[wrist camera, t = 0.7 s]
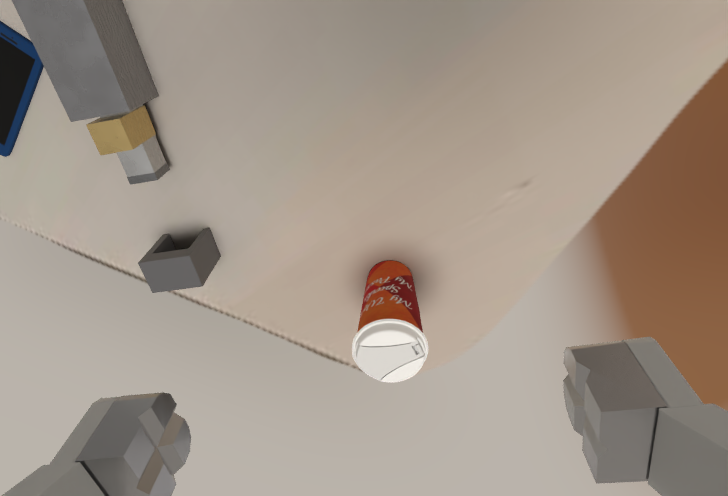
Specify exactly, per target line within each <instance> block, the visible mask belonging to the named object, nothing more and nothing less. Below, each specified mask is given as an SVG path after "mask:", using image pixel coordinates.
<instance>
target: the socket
mask: <svg viewBox="0 0 728 496" xmlns="http://www.w3.org/2000/svg"><path fill="white" fill-rule="evenodd" d="M220 257H221V256H220V253H219V251H218V248H217V246H216V243H215V240H214V238H213V235H212V233H211V230H210V228H205V229H203V230H202V231H201V233H200V234H199V235H198V237H197V238H196V239H195V241H194V242H193V243H192V245H191V246H190V247H189V248H188V249H181V250H176V249H175V246H174V244H173V242H172V239H171V237H170V235H169V234H165V235H162V236H161V238H160V239H159V240H158V241H157V242H156V243H155V244H154V246H153V247H152V248H151V249H150V250H149V251H148V252H147V253H146V255H145V256H144V257H143V258H142V259H141V260H140V261H139V263H138V264H139V266H140V268H141V270H142V272H143V274H144V276H145V278H146V280H147V282H148V284H149V286H150V288H151V291H152V292H153V293H155V292H163V291H171V290H179V289H186V288H194V287H201V286H203V285H204V283H205V281H206V280H207V278H208V276H209V275H210V273H211V271H212V270H213V268H214V267H215V265H216V263H217V262H218V260H219V258H220Z"/></svg>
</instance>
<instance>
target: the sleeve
mask: <svg viewBox="0 0 728 496" xmlns="http://www.w3.org/2000/svg"><path fill="white" fill-rule="evenodd" d="M12 2H13V4H14V6H15V8H16V10H17V12H18V14H19V16H20V18H21V20H22V22H23V24H24V26H25V28H26V30H27V32H28V34H29V36H30V39H31V41H32V43H33V45H34V47H35V49H36V51H37V53H38V55H39V57H40V59H41V61H42V63H43V65H44V67H45V69H46V71H47V73H48V75H49V77H50V80H51V82H52V84H53V86H54V88H55V90H56V92H57V94H58V96H59V98H60V100H61V102H62V104H63V106H64V108H65V110H66V112H67V114H68V116H69V118H70V121H71V122H73V121H78V120H84V119H89V118H94V117H100V116H105V115H110V114H116V113H121V112H126V111H131V110H132V109H134V108H136V107H138V106H140V105H142V104H144V103H146V102H148V101H150V100H152V99H154V98H156V97H158V93H157V90H156V88H155V85H154V83H153V80H152V78H151V75H150V72H149V70H148V67H147V65H146V62H145V59H144V57H143V54H142V52H141V49H140V46H139V44H138V41H137V39H136V36H135V34H134V31H133V28H132V26H131V23H130V21H129V18H128V15H127V13H126V10H125V8H124V5H123V2H122V0H12Z"/></svg>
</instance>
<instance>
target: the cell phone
mask: <svg viewBox="0 0 728 496" xmlns="http://www.w3.org/2000/svg"><path fill="white" fill-rule="evenodd" d="M43 67H44V65H43V63H42V61H41V59H40V57H39V55H38V53H37V51H36V49H35V47H34V45H33V43H32V42H31V41H30V40H28V39H27V38H25V37H24V36H22V35H21V34H19V33H18V32H16V31H15V30H13V29H12V28H10V27H9V26H7V25H6V24H4V23H3V22H1V21H0V155H2V156H5V157H6V156H9V155H10V154H11V152H12V150H13V147H14V145H15V142H16V139H17V137H18V134H19V131H20V129H21V126H22V123H23V121H24V118H25V115H26V113H27V110H28V107H29V105H30V102H31V99H32V97H33V94H34V91H35V89H36V86H37V83H38V80H39V78H40V75H41V72H42V70H43Z"/></svg>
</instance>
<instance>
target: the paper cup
mask: <svg viewBox="0 0 728 496" xmlns="http://www.w3.org/2000/svg"><path fill="white" fill-rule="evenodd" d="M427 354H428V342H427V339H426V337H425V336H424V334H423V331H422V325H421V319H420V312H419V307H418V302H417V297H416V292H415V287H414V282H413V278H412V274H411V272H410V270H409V269H408V268H407V267H406V266H405V265H404V264H402V263H400V262H397V261H383V262H380V263H378V264H376V265H375V266H374V267H373V268H372V269H371V271H370V272H369V275H368V278H367V283H366V288H365V293H364V299H363V304H362V310H361V315H360V321H359V327H358V332H357V334H356V335H355V337H354V340H353V344H352V356H353V359H354V360H355V362H356V364H357V365H358V367H359V368H360V369H361V370H363V371H364V372H365V373H366V374H367V375H368V376H370V377H372V378H374V379H376V380H379V381H382V382H399V381H403V380H406V379H409V378H411V377H412V376H414V375H415V374H416V373H417V372H418V371H419V370H420V369H421V367H422V365H423V363H424V361H425V359H426V357H427Z"/></svg>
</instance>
